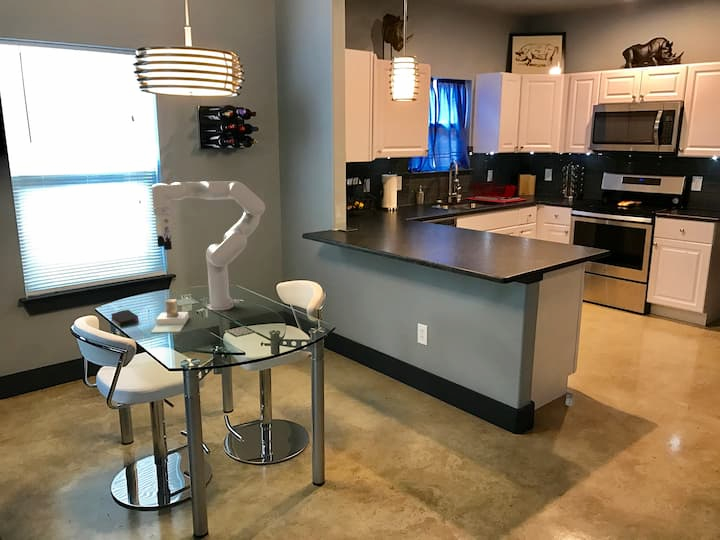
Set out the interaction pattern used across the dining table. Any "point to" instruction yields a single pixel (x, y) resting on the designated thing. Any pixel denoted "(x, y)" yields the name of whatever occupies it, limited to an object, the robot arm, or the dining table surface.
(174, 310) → the plug
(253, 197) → the robot arm
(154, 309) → the dining table surface
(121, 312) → the black sponge
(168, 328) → the mat
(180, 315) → the socket block
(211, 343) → the dining table surface
